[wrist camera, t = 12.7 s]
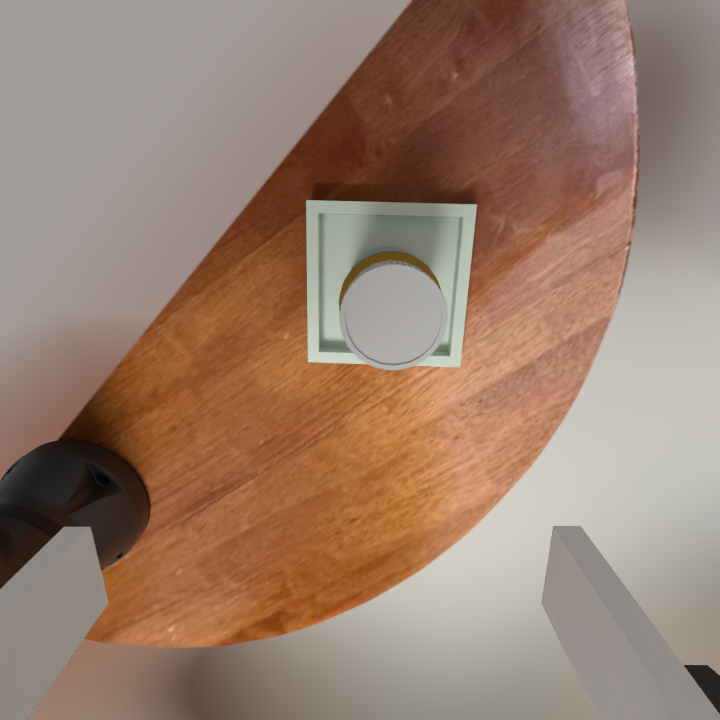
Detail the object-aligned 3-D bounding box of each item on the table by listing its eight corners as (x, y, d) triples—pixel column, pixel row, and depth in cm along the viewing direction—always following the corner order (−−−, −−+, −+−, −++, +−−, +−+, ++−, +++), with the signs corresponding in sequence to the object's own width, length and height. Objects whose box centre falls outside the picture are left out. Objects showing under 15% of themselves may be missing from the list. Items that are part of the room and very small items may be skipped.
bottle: (359, 237, 36) (348, 240, 22) (435, 258, 37) (473, 275, 22) (340, 312, 39) (318, 360, 24) (412, 332, 39) (433, 390, 25)
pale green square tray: (311, 354, 41) (308, 361, 38) (310, 202, 37) (306, 200, 34) (455, 359, 40) (460, 367, 38) (470, 206, 36) (477, 204, 34)
